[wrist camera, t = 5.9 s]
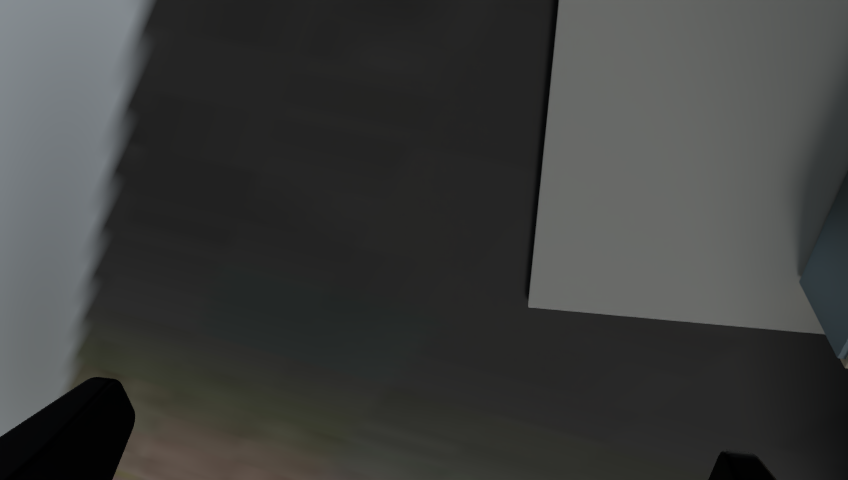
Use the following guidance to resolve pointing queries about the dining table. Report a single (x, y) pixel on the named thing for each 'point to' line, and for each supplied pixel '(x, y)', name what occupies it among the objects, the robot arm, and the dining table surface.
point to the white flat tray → (691, 158)
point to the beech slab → (831, 276)
